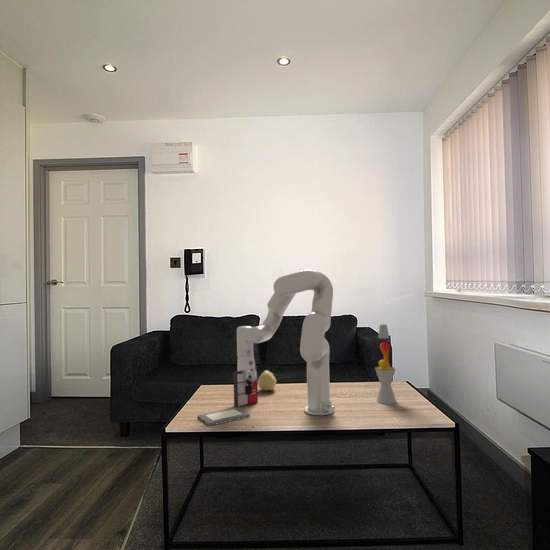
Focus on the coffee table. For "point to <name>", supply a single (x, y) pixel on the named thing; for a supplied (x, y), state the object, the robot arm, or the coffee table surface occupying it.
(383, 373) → the lava lamp
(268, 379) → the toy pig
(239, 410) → the slate picture frame
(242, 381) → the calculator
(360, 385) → the coffee table surface
